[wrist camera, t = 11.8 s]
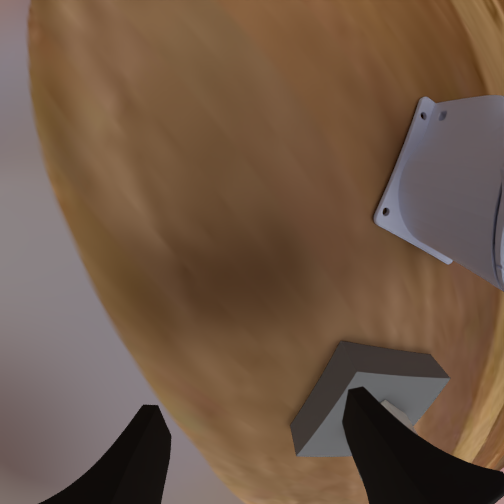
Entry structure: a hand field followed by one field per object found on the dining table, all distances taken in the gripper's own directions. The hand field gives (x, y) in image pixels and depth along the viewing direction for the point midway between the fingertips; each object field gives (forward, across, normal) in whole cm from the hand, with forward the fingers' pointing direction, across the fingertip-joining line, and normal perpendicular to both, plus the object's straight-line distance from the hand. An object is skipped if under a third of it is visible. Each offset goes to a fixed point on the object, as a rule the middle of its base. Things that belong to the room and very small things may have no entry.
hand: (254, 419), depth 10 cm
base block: (+10, -9, +10) cm, 17 cm away
